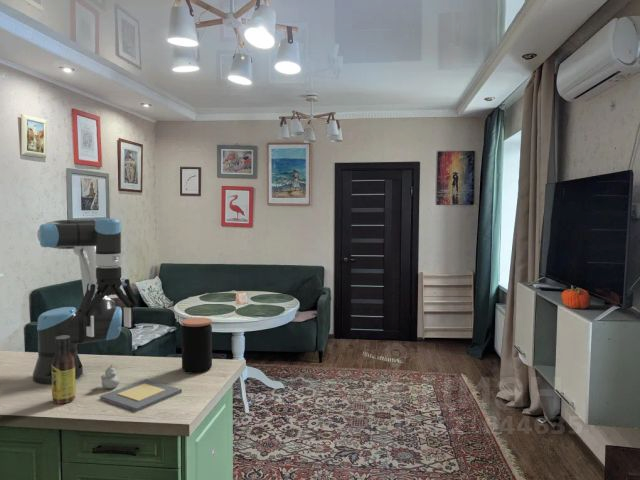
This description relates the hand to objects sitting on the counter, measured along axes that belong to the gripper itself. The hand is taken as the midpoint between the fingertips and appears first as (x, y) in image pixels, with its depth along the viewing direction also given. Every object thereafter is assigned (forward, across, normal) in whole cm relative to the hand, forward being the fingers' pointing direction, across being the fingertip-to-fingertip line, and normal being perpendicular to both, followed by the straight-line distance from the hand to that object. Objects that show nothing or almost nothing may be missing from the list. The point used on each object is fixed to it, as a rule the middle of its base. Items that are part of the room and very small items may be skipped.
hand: (109, 331), depth 151 cm
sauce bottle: (+19, -14, +2) cm, 24 cm away
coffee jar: (+19, +28, -12) cm, 35 cm away
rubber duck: (+19, 0, 0) cm, 19 cm away
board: (+18, 0, -15) cm, 23 cm away
